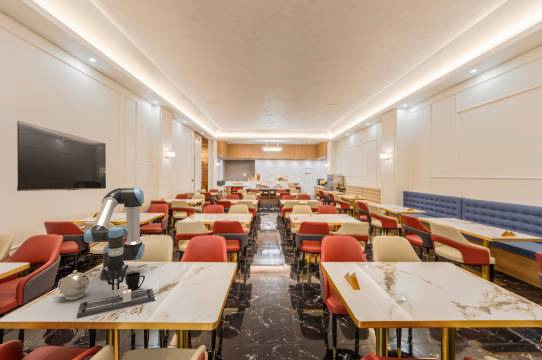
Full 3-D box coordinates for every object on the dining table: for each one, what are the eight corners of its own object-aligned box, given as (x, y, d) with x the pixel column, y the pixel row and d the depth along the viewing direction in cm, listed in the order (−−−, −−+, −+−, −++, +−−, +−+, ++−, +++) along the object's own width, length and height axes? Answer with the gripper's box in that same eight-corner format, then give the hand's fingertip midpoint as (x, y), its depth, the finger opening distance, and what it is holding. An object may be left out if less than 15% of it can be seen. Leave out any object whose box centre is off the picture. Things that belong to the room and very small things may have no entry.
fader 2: (122, 299, 141) (122, 290, 141) (130, 298, 143) (130, 288, 143) (122, 302, 138) (122, 293, 138) (131, 300, 140) (131, 291, 140)
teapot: (95, 292, 156) (95, 266, 156) (77, 303, 142) (77, 274, 142) (68, 292, 157) (68, 266, 157) (47, 302, 144) (47, 273, 144)
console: (80, 306, 139) (80, 300, 139) (152, 291, 158) (152, 286, 158) (77, 318, 127) (77, 312, 127) (154, 300, 145) (154, 295, 146)
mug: (139, 292, 156) (140, 277, 156) (122, 291, 158) (122, 276, 158) (148, 287, 164) (148, 272, 164) (131, 286, 166) (131, 271, 166)
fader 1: (119, 294, 147) (119, 286, 147) (127, 293, 149) (127, 284, 149) (119, 297, 144) (119, 288, 144) (127, 295, 146) (127, 287, 146)
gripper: (101, 258, 138) (101, 300, 138) (128, 254, 145) (128, 295, 145) (102, 254, 144) (102, 295, 144) (128, 251, 151) (128, 290, 151)
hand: (115, 295), depth 144 cm, fingers closed
